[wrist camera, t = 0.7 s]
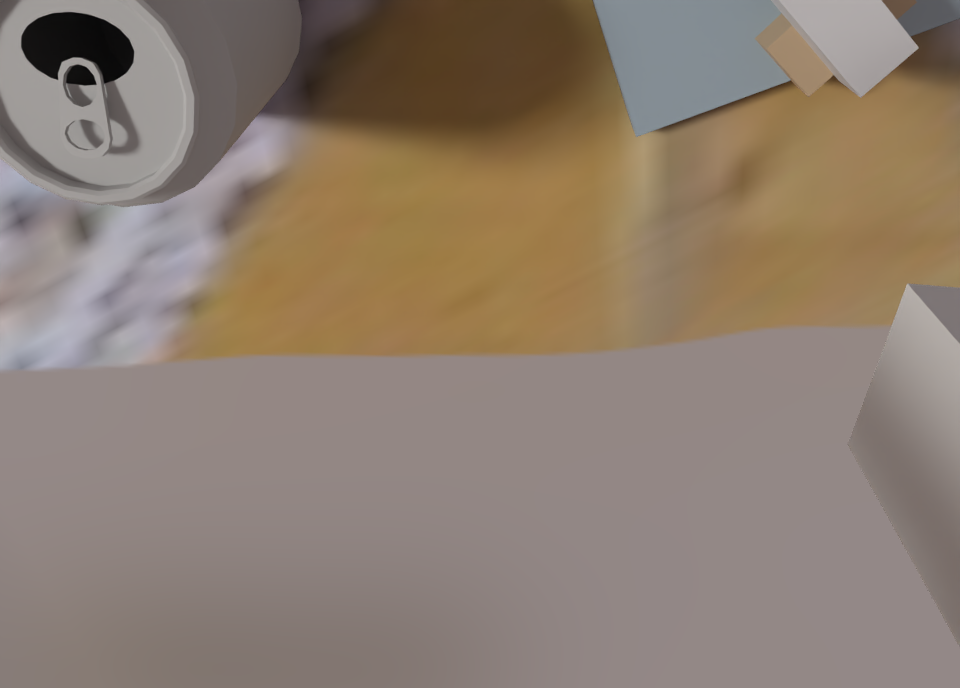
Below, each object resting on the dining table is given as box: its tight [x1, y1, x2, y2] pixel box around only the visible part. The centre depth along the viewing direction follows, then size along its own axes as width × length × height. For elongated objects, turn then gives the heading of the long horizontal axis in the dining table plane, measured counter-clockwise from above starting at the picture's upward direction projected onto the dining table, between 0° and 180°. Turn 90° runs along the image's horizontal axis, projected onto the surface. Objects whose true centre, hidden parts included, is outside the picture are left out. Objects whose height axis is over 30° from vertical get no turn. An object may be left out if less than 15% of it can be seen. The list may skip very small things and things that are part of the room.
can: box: [0, 0, 302, 207], centre depth 28 cm, size 8×8×12 cm
